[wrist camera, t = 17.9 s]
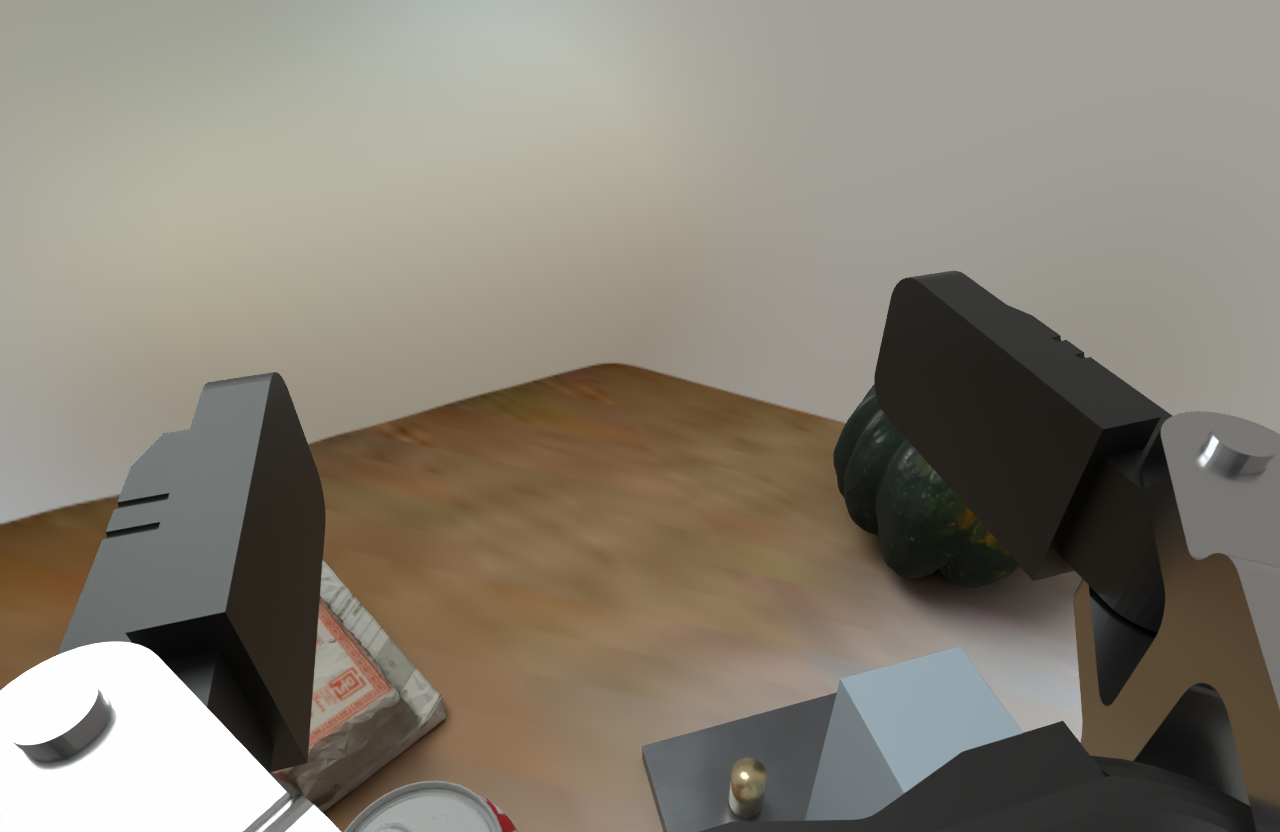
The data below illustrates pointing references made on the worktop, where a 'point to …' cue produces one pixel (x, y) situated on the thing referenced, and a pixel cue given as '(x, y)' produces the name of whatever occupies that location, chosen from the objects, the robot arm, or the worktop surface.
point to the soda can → (431, 811)
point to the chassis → (740, 768)
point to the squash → (911, 505)
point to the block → (902, 731)
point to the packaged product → (357, 701)
